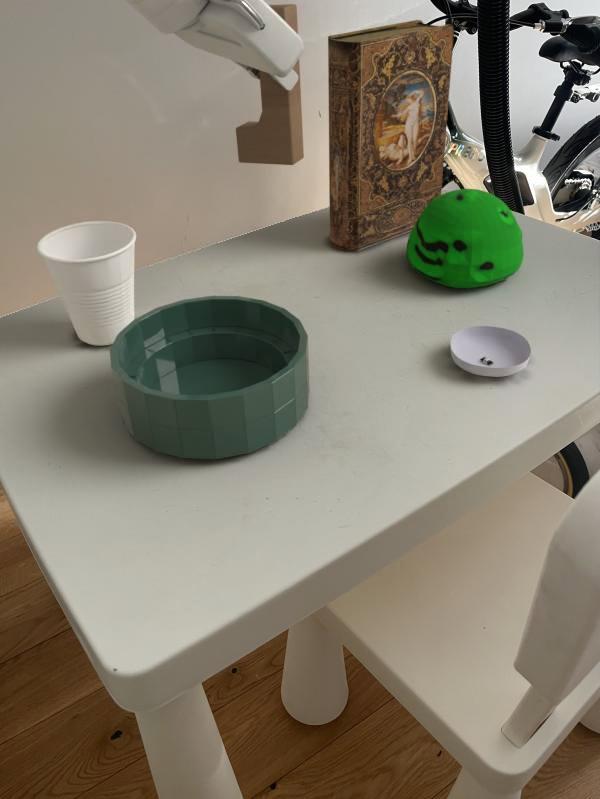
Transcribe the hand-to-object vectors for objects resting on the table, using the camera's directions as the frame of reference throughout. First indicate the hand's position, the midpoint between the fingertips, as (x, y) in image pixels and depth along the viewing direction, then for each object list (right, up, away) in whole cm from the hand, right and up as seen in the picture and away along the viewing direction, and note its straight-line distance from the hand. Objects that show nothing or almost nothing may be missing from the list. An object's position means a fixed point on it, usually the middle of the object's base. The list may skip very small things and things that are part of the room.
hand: (276, 78), depth 76 cm
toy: (+22, -17, +15) cm, 32 cm away
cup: (-19, -26, +6) cm, 33 cm away
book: (+14, -10, +26) cm, 31 cm away
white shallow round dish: (+21, -29, -1) cm, 36 cm away
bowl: (-5, -34, -6) cm, 35 cm away
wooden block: (-1, -7, +5) cm, 9 cm away
